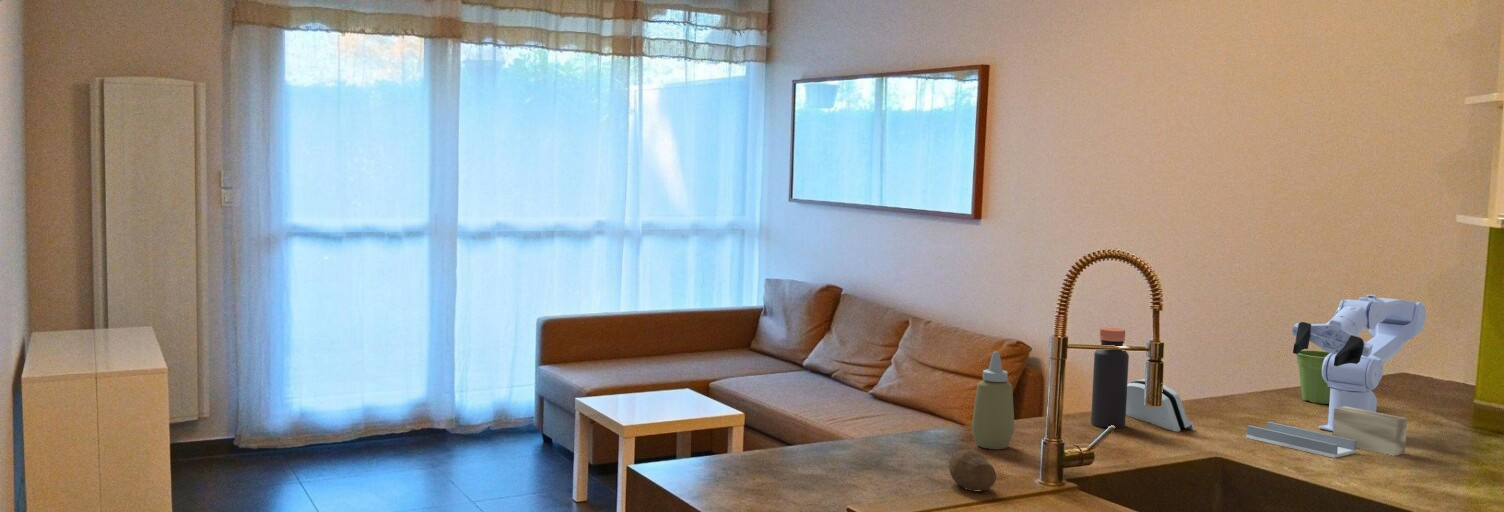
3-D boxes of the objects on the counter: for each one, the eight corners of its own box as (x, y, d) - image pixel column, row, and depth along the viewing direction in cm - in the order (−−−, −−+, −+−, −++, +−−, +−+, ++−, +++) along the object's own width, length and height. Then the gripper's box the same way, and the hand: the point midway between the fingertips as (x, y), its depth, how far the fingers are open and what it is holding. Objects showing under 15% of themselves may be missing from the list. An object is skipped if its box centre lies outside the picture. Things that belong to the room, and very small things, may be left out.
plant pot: (1357, 407, 264) (1361, 358, 263) (1305, 406, 264) (1308, 357, 263) (1332, 397, 276) (1335, 350, 275) (1282, 395, 276) (1285, 348, 275)
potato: (970, 498, 184) (972, 459, 184) (936, 482, 193) (937, 445, 193) (1004, 494, 187) (1006, 456, 187) (968, 478, 196) (970, 442, 196)
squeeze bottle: (1018, 444, 221) (1022, 351, 219) (1008, 453, 213) (1013, 357, 212) (976, 439, 224) (980, 347, 222) (965, 448, 217) (969, 353, 215)
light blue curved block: (1196, 430, 236) (1185, 385, 235) (1177, 439, 235) (1166, 394, 233) (1143, 413, 252) (1132, 370, 250) (1126, 421, 251) (1115, 379, 249)
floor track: (1268, 433, 236) (1269, 421, 236) (1356, 452, 221) (1357, 440, 221) (1245, 437, 231) (1246, 425, 231) (1334, 457, 216) (1334, 445, 216)
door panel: (1342, 440, 231) (1345, 406, 231) (1404, 454, 221) (1407, 418, 221) (1332, 443, 229) (1334, 408, 228) (1393, 456, 219) (1396, 420, 219)
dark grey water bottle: (1089, 426, 237) (1094, 330, 236) (1092, 420, 244) (1097, 326, 242) (1123, 430, 235) (1128, 332, 233) (1126, 423, 241) (1131, 328, 240)
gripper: (1307, 302, 236) (1280, 325, 227) (1383, 322, 227) (1358, 348, 218) (1302, 332, 239) (1275, 357, 230) (1377, 354, 229) (1352, 381, 221)
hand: (1315, 355), depth 224 cm, fingers open, 7 cm apart
